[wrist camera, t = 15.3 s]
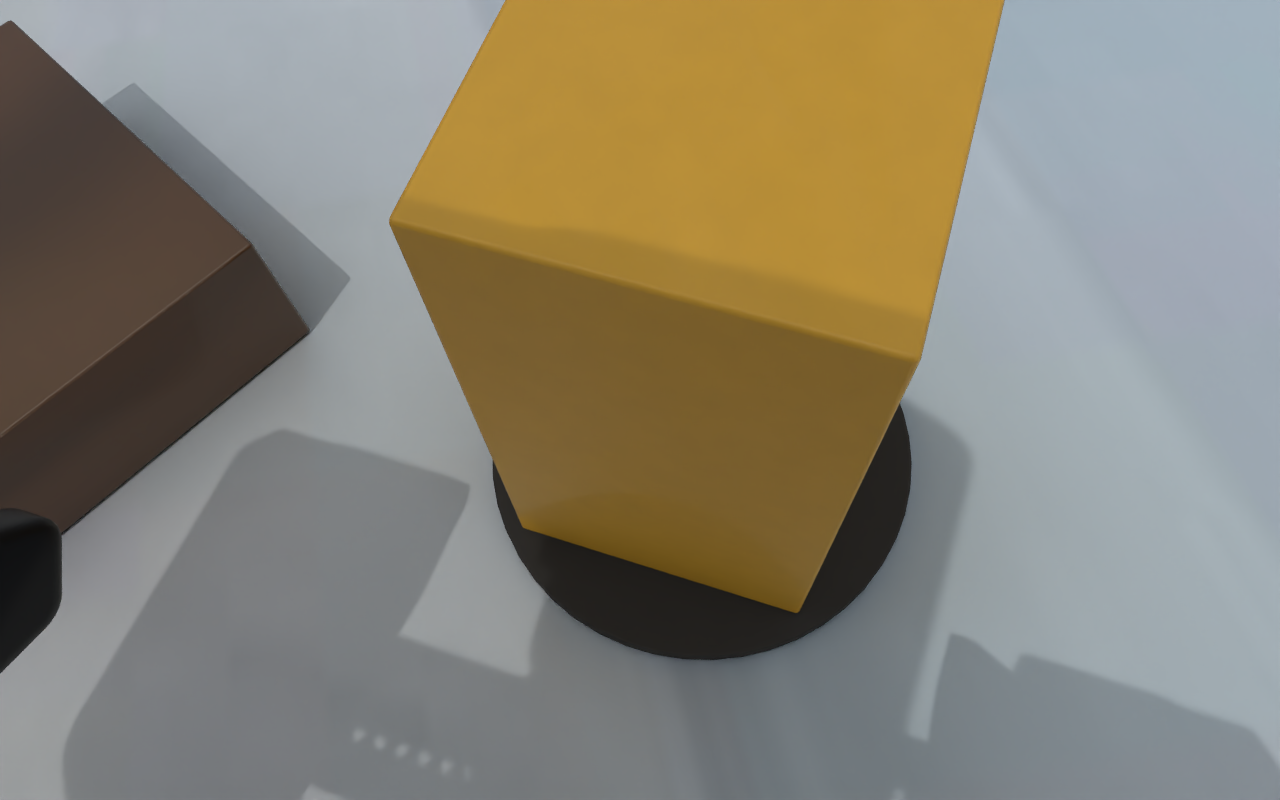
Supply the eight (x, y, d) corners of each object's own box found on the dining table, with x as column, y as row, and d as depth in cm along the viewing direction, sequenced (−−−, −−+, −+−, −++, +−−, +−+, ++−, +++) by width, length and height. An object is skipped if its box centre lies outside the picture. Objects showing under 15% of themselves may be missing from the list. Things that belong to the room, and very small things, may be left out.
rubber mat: (992, 440, 18) (997, 433, 18) (718, 759, 16) (719, 757, 15) (685, 214, 20) (686, 204, 20) (410, 462, 18) (406, 456, 18)
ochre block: (798, 615, 16) (921, 362, 8) (521, 528, 17) (384, 221, 9) (864, 363, 18) (1014, -39, 10) (613, 296, 19) (569, -124, 11)
